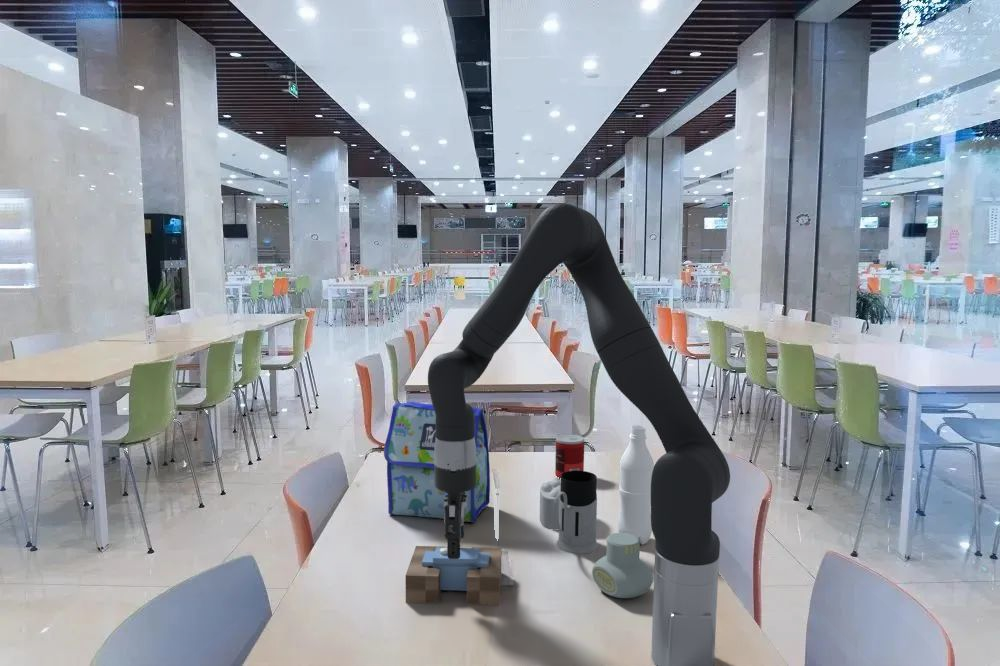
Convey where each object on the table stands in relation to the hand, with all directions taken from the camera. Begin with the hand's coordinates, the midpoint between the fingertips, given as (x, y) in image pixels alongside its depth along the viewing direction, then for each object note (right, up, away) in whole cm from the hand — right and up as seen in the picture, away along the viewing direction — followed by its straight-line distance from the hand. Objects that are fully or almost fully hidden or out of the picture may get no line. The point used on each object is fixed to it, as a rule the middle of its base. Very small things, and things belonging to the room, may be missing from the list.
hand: (456, 547), depth 123 cm
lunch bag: (-7, -4, +37) cm, 38 cm away
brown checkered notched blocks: (0, -8, +1) cm, 8 cm away
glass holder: (+23, -6, +17) cm, 29 cm away
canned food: (+27, -1, +63) cm, 69 cm away
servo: (0, -7, +1) cm, 7 cm away
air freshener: (+30, -8, 0) cm, 31 cm away
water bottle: (+37, -6, +22) cm, 43 cm away
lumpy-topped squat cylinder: (+22, -4, +34) cm, 41 cm away
